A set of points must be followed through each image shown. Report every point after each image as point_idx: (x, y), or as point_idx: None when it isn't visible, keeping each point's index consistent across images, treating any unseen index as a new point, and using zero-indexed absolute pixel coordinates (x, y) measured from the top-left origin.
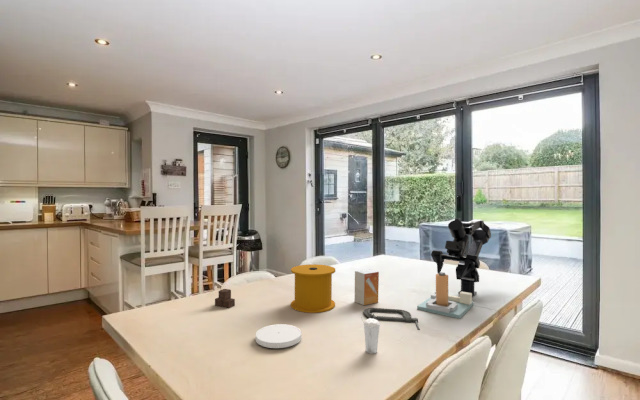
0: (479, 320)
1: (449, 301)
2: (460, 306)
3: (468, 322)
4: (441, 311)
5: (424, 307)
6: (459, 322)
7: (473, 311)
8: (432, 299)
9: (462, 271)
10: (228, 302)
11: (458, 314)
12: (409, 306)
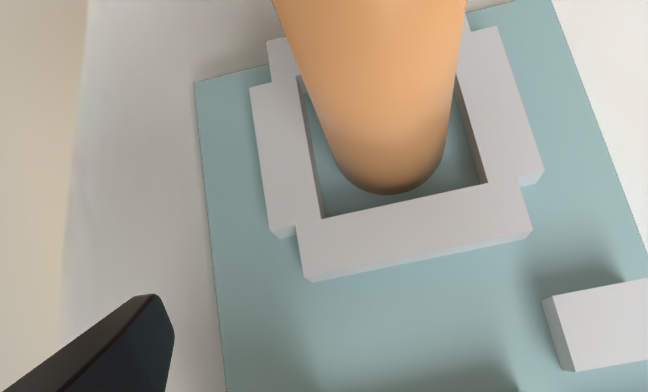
0: (89, 175)
1: (365, 237)
2: (278, 295)
3: (135, 80)
4: None
5: (483, 14)
6: (178, 34)
7: (185, 345)
8: (523, 154)
9: (60, 375)
10: None
11: (207, 91)
12: (637, 11)
